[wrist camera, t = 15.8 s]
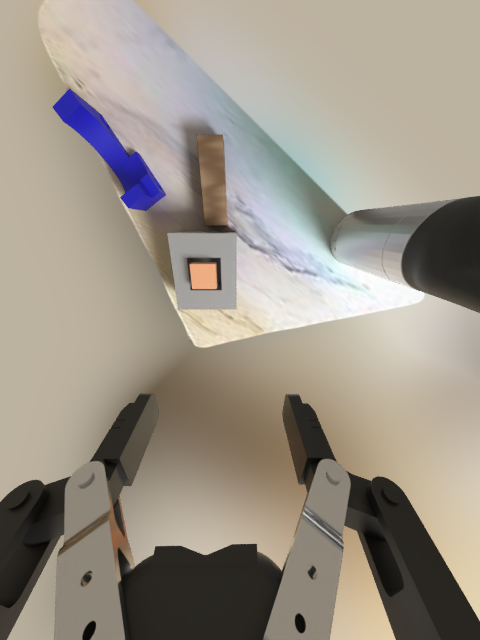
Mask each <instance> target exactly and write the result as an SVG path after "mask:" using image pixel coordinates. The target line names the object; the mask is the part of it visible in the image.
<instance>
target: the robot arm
mask: <svg viewBox="0 0 480 640" xmlns="http://www.w3.org/2000/svg"><path fill="white" fill-rule="evenodd" d="M330 246H331V252H332V255H333V256H334V258H335V259H336V260H337V261H339V262H341V263H343V264H345V265H348V266H351V267H353V268H356V269H359V270H362V271H365V272H368V273H371V274H373V275H376V276H379V277H382V278H385V279H388V280H390V281H393V282H396V283H399V284H402V285H405V286H408V287H411V288H413V289H416V290H419V291H422V292H425V293H428V294H430V295H433V296H436V297H439V298H441V299H444V300H447V301H450V302H452V303H455V304H458V305H461V306H463V307H466V308H468V309H471V310H473V311H476V312H478V313H480V196H477V197H469V198H462V199H453V200H445V201H436V202H429V203H420V204H412V205H403V206H394V207H386V208H377V209H367V210H360V211H355V212H352V213H350V214H348V215H347V216H346V217H344V218H343V219H342V220H341V221H340V222H339V223H338V225H337V226H336V227H335V229H334V231H333V233H332V237H331V243H330ZM158 414H159V411H158V406H157V402H156V398H155V395H154V394H140V395H139V396H138V398H137V399H136V401H135V403H129V404H128V405H127V406H126V407H125V408H124V409H123V410H122V411H121V412H120V414H119V416H118V417H117V419H116V421H115V422H114V423H113V425H112V427H111V429H110V430H109V432H108V433H107V435H106V437H105V438H104V440H103V441H102V443H101V445H100V446H99V448H98V450H97V451H96V453H95V454H94V456H93V458H92V459H91V460H90V462H89V463H87V464H85V465H83V466H82V467H80V468H79V469H78V470H77V471H75V472H74V474H73V475H72V476H70V477H67V478H65V479H62V480H59V481H56V482H53V483H50V484H47V485H44V484H43V483H42V482H41V481H39V480H32V481H28V482H26V483H23V484H22V485H20V486H18V487H17V488H15V489H14V490H13V491H11V492H10V493H9V494H8V495H7V496H6V497H5V498H4V499H3V500H2V501H1V502H0V640H7V638H8V636H9V634H10V632H11V630H12V628H13V626H14V625H15V623H16V621H17V619H18V617H19V615H20V613H21V611H22V609H23V607H24V605H25V603H26V601H27V600H28V597H29V596H30V594H31V592H32V590H33V588H34V586H35V584H36V582H37V580H38V578H39V576H40V575H41V573H42V571H43V569H44V567H45V565H46V563H47V561H48V559H49V557H50V555H51V553H52V551H53V549H54V547H55V546H56V544H57V542H58V540H59V538H60V536H61V535H64V545H63V547H62V548H61V549H60V550H59V552H58V556H57V569H56V570H57V571H56V601H55V629H54V640H330V634H331V627H332V621H333V615H334V608H335V601H336V595H337V589H338V582H339V576H340V569H341V563H342V556H343V545H344V544H343V541H342V535H343V529H344V526H347V527H349V528H352V529H354V530H356V531H357V532H358V535H359V538H360V541H361V543H362V546H363V549H364V552H365V554H366V557H367V560H368V563H369V566H370V569H371V571H372V574H373V577H374V580H375V583H376V585H377V588H378V591H379V594H380V597H381V599H382V602H383V605H384V608H385V610H386V613H387V616H388V619H389V622H390V624H391V627H392V630H393V633H394V636H395V638H396V640H480V621H479V619H478V618H477V616H476V614H475V612H474V611H473V609H472V607H471V606H470V604H469V602H468V600H467V599H466V597H465V595H464V594H463V592H462V590H461V588H460V587H459V585H458V583H457V582H456V580H455V579H454V577H453V575H452V573H451V571H450V570H449V568H448V566H447V565H446V563H445V561H444V559H443V558H442V556H441V554H440V553H439V551H438V549H437V547H436V546H435V544H434V542H433V541H432V539H431V537H430V536H429V534H428V532H427V530H426V529H425V527H424V525H423V524H422V522H421V520H420V518H419V517H418V515H417V513H416V512H415V510H414V508H413V507H412V505H411V503H410V501H409V500H408V498H407V496H406V495H405V493H404V492H403V491H402V490H401V489H400V487H398V486H397V485H396V484H395V483H394V482H392V481H390V480H389V479H387V478H384V477H375V478H373V480H372V481H369V480H367V479H364V478H361V477H358V476H355V475H353V474H351V473H349V472H347V471H346V470H345V469H344V468H343V467H342V466H341V465H340V464H339V463H338V462H337V461H336V459H335V457H334V455H333V453H332V450H331V448H330V446H329V443H328V441H327V439H326V436H325V434H324V432H323V430H322V428H321V425H320V422H319V421H318V418H317V415H316V413H315V411H314V410H313V409H312V408H311V406H310V405H309V404H303V403H302V401H301V398H300V396H299V395H298V394H286V396H285V401H284V406H283V422H284V426H285V430H286V434H287V438H288V442H289V446H290V451H291V455H292V459H293V462H294V467H295V471H296V475H297V479H298V483H299V484H305V485H306V489H307V496H306V500H305V502H304V506H303V509H302V512H301V515H300V518H299V521H298V524H297V527H296V531H295V533H294V536H293V539H292V542H291V545H290V548H289V551H288V554H287V557H286V560H285V563H284V566H283V569H282V571H281V570H280V568H279V567H278V566H277V565H276V564H275V563H274V562H273V561H272V560H271V559H270V558H268V557H267V556H265V555H263V554H262V553H260V552H257V544H236V545H230V546H228V547H225V548H223V549H221V550H218V551H216V552H213V553H211V554H209V555H202V554H200V553H197V552H195V551H192V550H190V549H187V548H185V547H182V546H156V547H155V551H154V555H152V556H150V557H149V558H147V559H145V560H143V561H142V562H141V563H139V564H138V565H137V566H136V567H135V564H134V559H133V556H132V552H131V548H130V545H129V542H128V538H127V533H126V527H125V522H124V517H123V512H122V506H121V501H120V496H119V495H120V493H121V490H122V488H123V486H132V483H133V481H134V478H135V476H136V473H137V471H138V468H139V465H140V463H141V460H142V458H143V455H144V453H145V450H146V448H147V445H148V443H149V440H150V438H151V435H152V433H153V430H154V428H155V425H156V423H157V420H158Z"/></svg>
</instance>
